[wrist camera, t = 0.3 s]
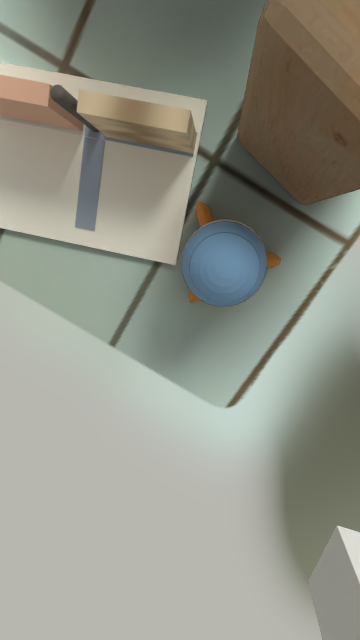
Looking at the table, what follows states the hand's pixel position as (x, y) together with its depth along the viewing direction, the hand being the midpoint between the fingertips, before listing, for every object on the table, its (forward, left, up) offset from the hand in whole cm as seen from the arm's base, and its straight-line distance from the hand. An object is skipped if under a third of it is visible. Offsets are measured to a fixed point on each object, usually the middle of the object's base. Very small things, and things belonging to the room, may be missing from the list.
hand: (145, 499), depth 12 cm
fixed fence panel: (-17, -9, -27) cm, 33 cm away
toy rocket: (-7, +3, -28) cm, 28 cm away
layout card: (-13, -14, -27) cm, 33 cm away
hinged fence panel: (-17, -20, -26) cm, 37 cm away
